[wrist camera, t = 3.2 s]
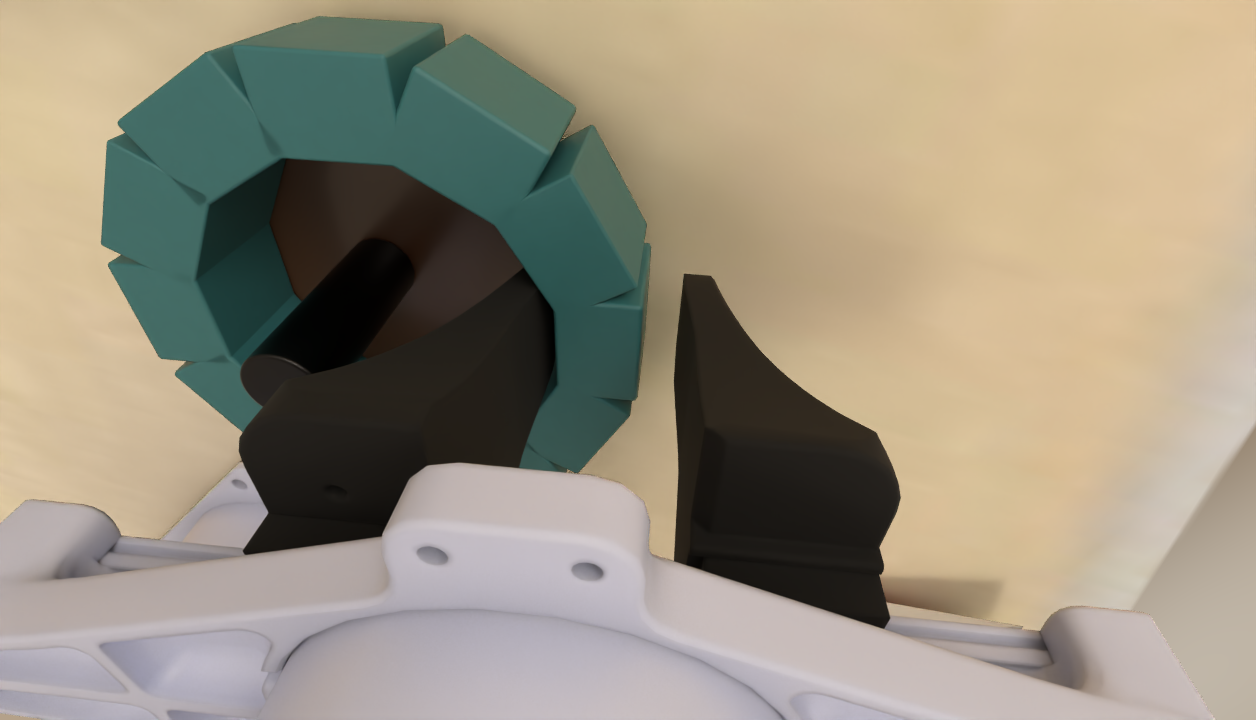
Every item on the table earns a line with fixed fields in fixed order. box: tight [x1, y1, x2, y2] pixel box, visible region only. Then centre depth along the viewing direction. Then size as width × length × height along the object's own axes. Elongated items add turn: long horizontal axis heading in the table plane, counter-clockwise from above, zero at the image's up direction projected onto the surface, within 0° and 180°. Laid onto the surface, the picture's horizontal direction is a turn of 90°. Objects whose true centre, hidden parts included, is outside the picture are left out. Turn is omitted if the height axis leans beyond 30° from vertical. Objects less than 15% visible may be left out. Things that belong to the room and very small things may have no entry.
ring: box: [101, 16, 651, 473], centre depth 14 cm, size 11×11×3 cm
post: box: [240, 159, 524, 407], centre depth 14 cm, size 10×10×6 cm
